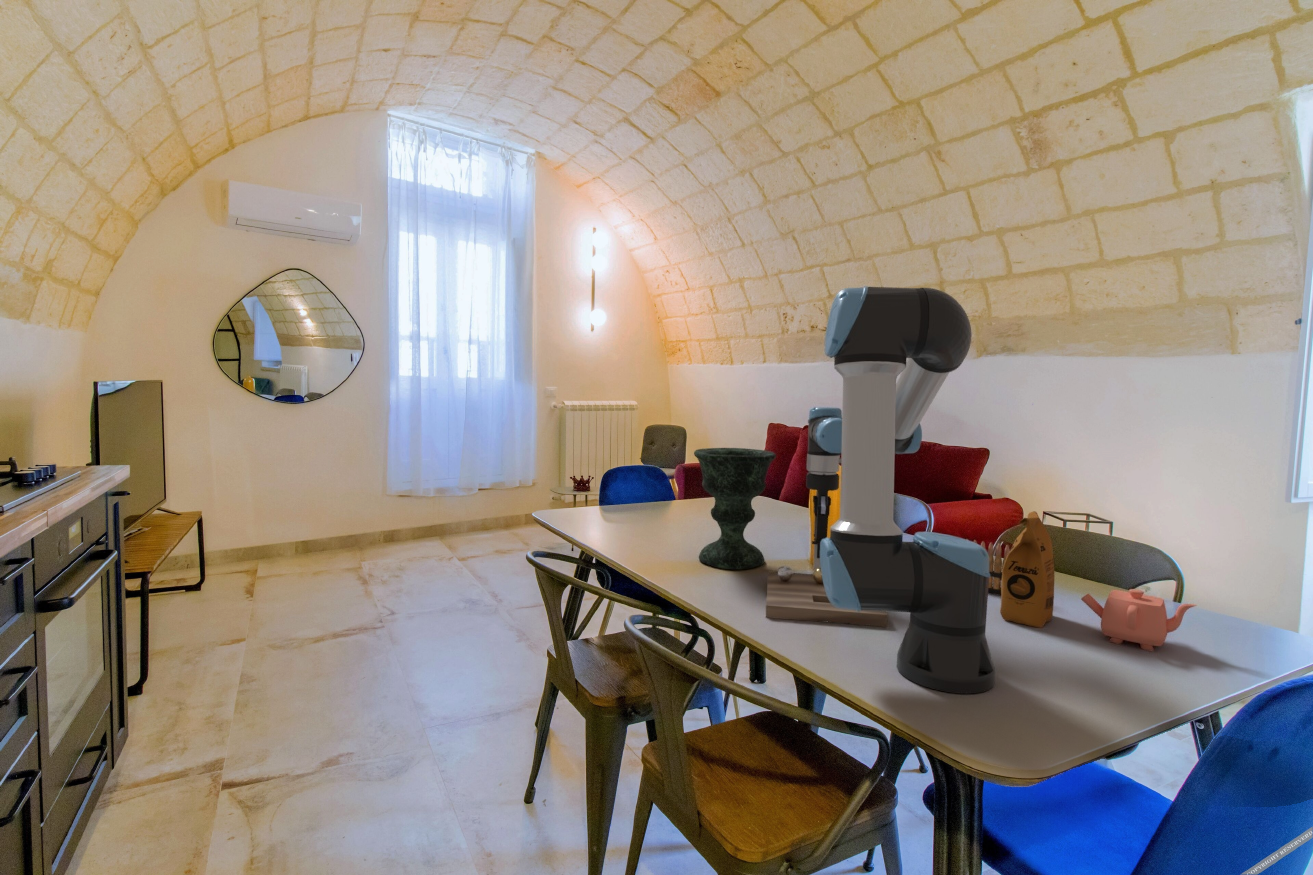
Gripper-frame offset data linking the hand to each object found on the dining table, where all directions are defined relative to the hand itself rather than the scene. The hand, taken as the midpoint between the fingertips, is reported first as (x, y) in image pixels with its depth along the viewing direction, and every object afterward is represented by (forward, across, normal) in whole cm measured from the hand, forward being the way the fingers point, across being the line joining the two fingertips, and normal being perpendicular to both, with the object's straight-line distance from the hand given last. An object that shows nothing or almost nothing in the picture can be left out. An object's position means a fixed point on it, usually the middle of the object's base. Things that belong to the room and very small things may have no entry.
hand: (819, 570), depth 160 cm
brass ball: (0, -5, 0) cm, 5 cm away
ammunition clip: (+4, +7, -39) cm, 40 cm away
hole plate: (+4, -11, 0) cm, 12 cm away
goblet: (+4, +19, +22) cm, 29 cm away
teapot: (+4, -21, -58) cm, 62 cm away
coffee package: (+4, -11, -42) cm, 44 cm away
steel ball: (0, -5, +8) cm, 10 cm away
